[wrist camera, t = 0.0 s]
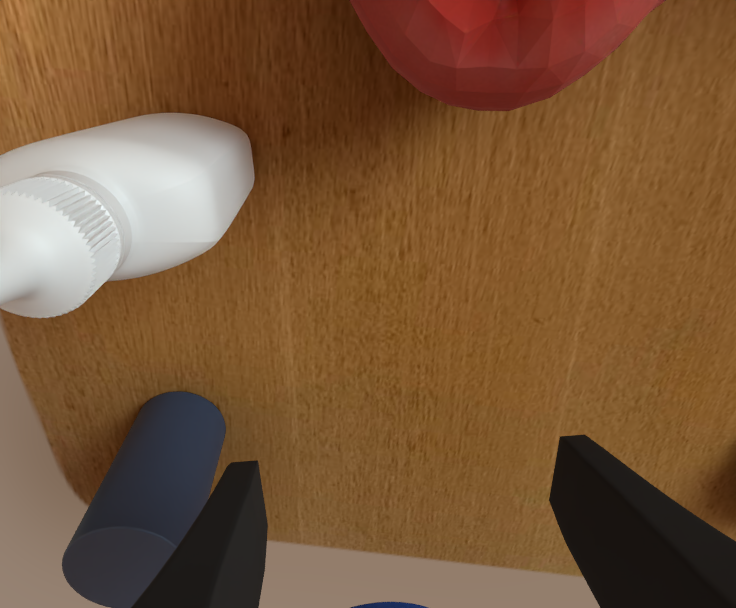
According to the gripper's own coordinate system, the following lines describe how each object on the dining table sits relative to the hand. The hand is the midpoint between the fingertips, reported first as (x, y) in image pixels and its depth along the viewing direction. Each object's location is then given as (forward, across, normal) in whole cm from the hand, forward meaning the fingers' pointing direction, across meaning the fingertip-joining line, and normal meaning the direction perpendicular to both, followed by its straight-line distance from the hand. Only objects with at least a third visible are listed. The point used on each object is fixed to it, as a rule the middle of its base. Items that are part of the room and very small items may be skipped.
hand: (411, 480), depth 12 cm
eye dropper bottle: (+11, +7, -6) cm, 14 cm away
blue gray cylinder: (+11, +9, +6) cm, 15 cm away
